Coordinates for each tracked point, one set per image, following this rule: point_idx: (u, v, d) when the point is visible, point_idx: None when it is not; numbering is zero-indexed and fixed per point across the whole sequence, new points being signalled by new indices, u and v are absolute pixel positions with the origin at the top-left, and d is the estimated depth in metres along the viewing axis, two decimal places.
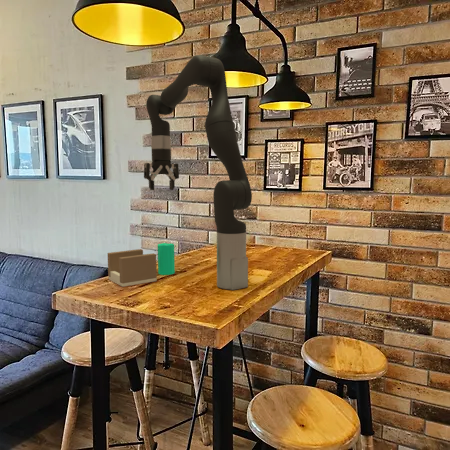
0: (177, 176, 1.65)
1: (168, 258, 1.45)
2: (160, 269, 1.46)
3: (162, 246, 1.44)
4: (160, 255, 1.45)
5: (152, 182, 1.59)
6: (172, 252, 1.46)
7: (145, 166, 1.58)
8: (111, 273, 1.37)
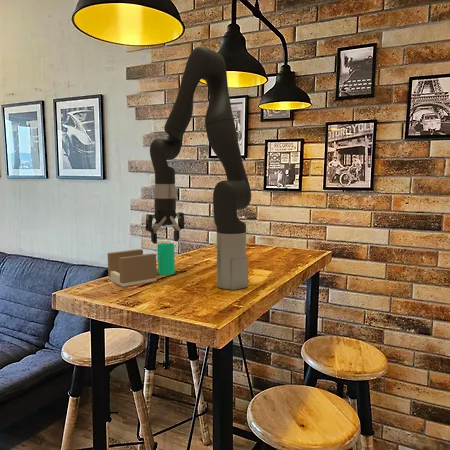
0: (182, 226, 1.49)
1: (168, 258, 1.45)
2: (160, 269, 1.46)
3: (162, 246, 1.44)
4: (160, 255, 1.45)
5: (155, 235, 1.43)
6: (172, 252, 1.46)
7: (147, 218, 1.42)
8: (111, 273, 1.37)
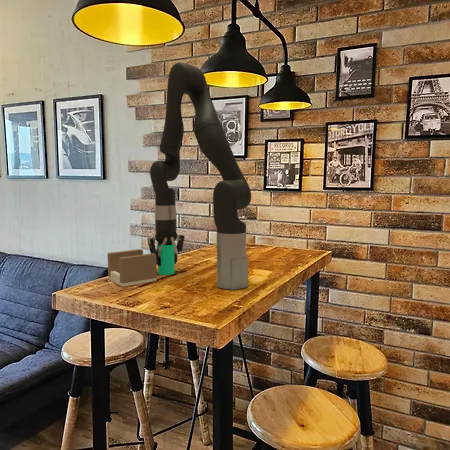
0: (180, 249, 1.50)
1: (168, 258, 1.45)
2: (160, 269, 1.46)
3: (162, 246, 1.44)
4: None
5: (159, 258, 1.45)
6: (172, 252, 1.46)
7: (149, 242, 1.43)
8: (111, 273, 1.37)
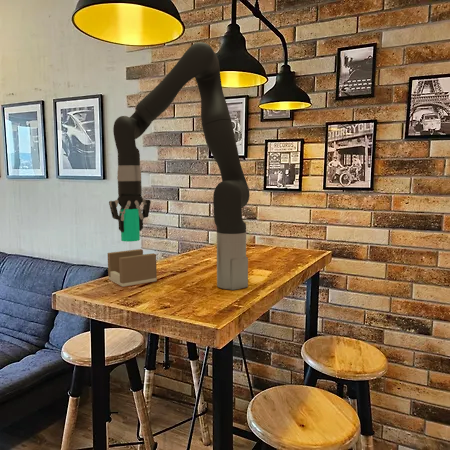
0: (146, 214, 1.38)
1: (131, 223, 1.34)
2: (123, 235, 1.34)
3: (125, 210, 1.33)
4: None
5: (122, 223, 1.34)
6: (136, 217, 1.34)
7: (110, 205, 1.32)
8: (111, 273, 1.37)
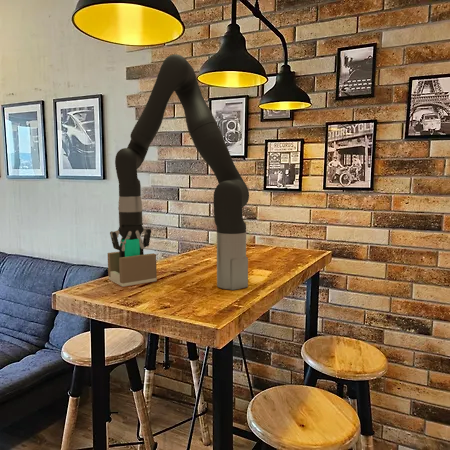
0: (147, 244, 1.39)
1: (132, 253, 1.35)
2: None
3: (126, 240, 1.34)
4: None
5: (123, 253, 1.35)
6: (137, 247, 1.36)
7: (111, 236, 1.33)
8: (111, 273, 1.37)
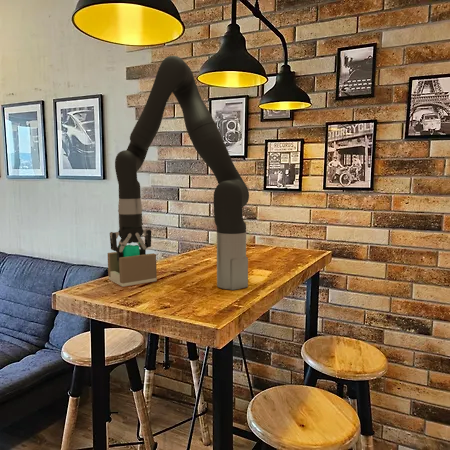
0: (149, 244, 1.40)
1: None
2: None
3: (125, 248, 1.35)
4: None
5: (121, 254, 1.34)
6: (136, 254, 1.36)
7: (111, 236, 1.33)
8: (111, 273, 1.37)
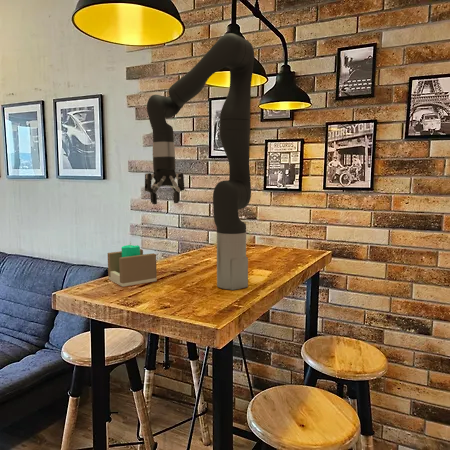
0: (182, 188, 1.45)
1: None
2: None
3: (126, 248, 1.34)
4: None
5: (154, 195, 1.39)
6: None
7: (146, 177, 1.37)
8: (111, 273, 1.37)
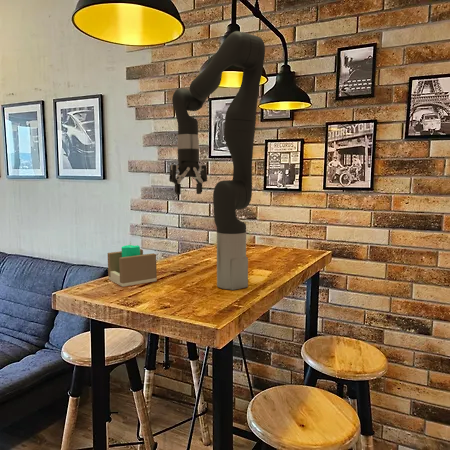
0: (205, 179, 1.50)
1: None
2: None
3: (126, 248, 1.34)
4: None
5: (178, 186, 1.44)
6: None
7: (171, 168, 1.42)
8: (111, 273, 1.37)
